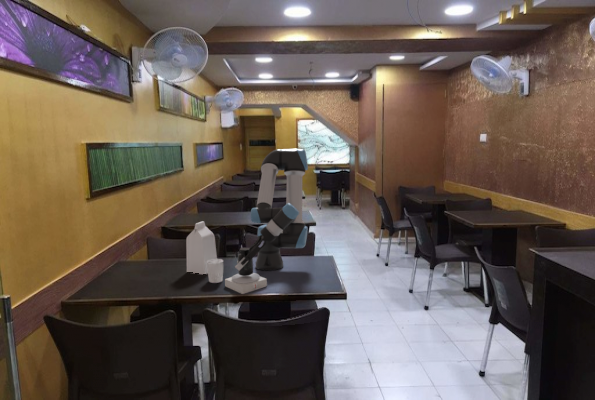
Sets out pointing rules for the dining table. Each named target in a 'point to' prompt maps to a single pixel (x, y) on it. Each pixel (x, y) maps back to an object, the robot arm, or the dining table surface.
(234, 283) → the dial scale
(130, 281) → the dining table surface
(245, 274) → the supplement bottle
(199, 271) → the milk
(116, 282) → the dining table surface
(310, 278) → the dining table surface
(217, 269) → the white cup
